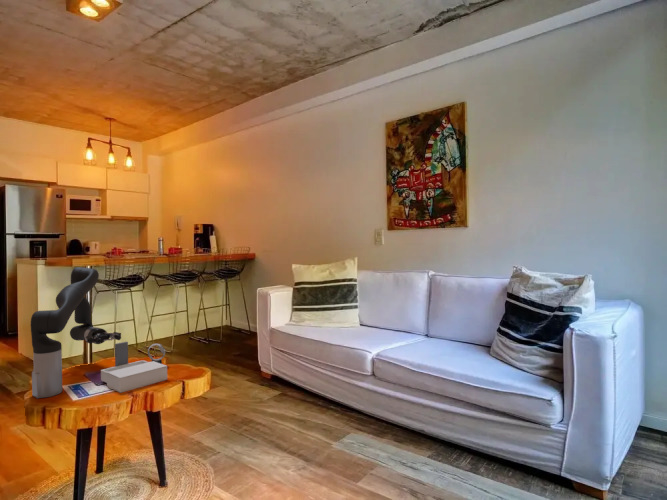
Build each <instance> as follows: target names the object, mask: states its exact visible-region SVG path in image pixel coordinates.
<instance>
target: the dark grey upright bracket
mask: <svg viewBox="0 0 667 500" xmlns="http://www.w3.org/2000/svg"><path fill="white" fill-rule="evenodd" d="M114 355H115V356H114V362H115V364H114V366H111V367H108V368H104V369H100V381H102V382H104V383H106V384H107V372H110V371H114V370H118V369H122V368H127V367H131V366H135V365H139V364H143V363H148V362H149V361H147V360H144V359H143V360H138V361H137V360H136V361H135V362H134V361H133V362H129V342H128V341H123V342H117V343H114Z"/></svg>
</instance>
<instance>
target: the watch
mask: <svg viewBox="0 0 667 500" xmlns="http://www.w3.org/2000/svg"><path fill="white" fill-rule="evenodd" d="M155 346H157V348H158V350H159V351H160V352H161V353H162V356H161V357H159V358H153V356H152V355H151V353H150V349H151V348H152V347H155ZM166 352H167V351H166V349H165V348H164V347H163V344H162V343H153V344H151V345H150V346H149V347H148V348H147V355H148V357H149V359H150V360H151V362H152V361H154V362H157V363H160V364H163V361H162V359H163V358H164V357H165V355H166Z"/></svg>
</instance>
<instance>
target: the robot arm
mask: <svg viewBox="0 0 667 500" xmlns="http://www.w3.org/2000/svg"><path fill="white" fill-rule="evenodd" d="M99 276H100V275H99V271H98V270H97V269H95V268H89V267H80V266H77V267H74V268H73V269H72V271H71V274H70V284H67V285H66V286H64V287H63V288H62V289H61V290H60V291H59V292H58V294H57V295H56V298H55V303H56V306H57V308H58V309H55V310H53V309H52V310H51V309H50V310H37V311H34V312H32V313H33V314H32V315H31V318H30V333H31V334H30V335H31V336H30V337H31V346H32V350H33V351H32V352H33V353H32V354H33V355H32V357H33V358H32V359H33V370H32V371H31V381H32V382H31V387H32V389H31V391H32V392H31V393H32V396H33V397H34V398H36V399H42V398H50V397H54V396H57V395H59V394H61V393H62V392H63V362H62V361H63V359H62V357H63V353H62V352H63V351H62V350H63V349H62V348H63V347H62V342H61V341H59V340H56V339H53V338H50V337H49V336H48V335H50V334H52V335H53V334H59V333H61V332H62V331H63V330H64V329H65V327H66V326H67V323H68V322H69V320H70V318H71V316H72V314H73V313H74V321H75V323H76V324H79V325H75V326H73V327H71V328H70V331H69V336H70V338H71V339H72V340H74V341H79V342H80V341H85V342H86V343H87V344H90V345H91V344H95V345H101V344H103V343H105V342H107V341H113V340H117V341H120V340H121V339H122V332H119V331H118V332H117V331H113V332H108V331H107V330H106V329H104V328H101V327H98V326H97V327H96V326H94V325H93V323H92V317H91V316H92V315H91V314H92V312H91V311H92V309H91V308H92V307H91V305H90V302H89V301H88V299H87V297H86V295H87V294H88V293H89V292H90V291H91V290H92V289H93V288H95V286H96V284H97V282H98V280H99V278H100V277H99Z"/></svg>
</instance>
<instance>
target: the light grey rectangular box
mask: <svg viewBox="0 0 667 500" xmlns="http://www.w3.org/2000/svg"><path fill="white" fill-rule="evenodd" d="M147 362H148V363H143V364H139V365H135V366H131V367H127V368H122V369H118V370H114V371H110V372H107V383H106V384H107V385H106V387H107V388H109V389H112V390H114V391H116V392H118V393H124V392H128V391H132V390H135V389H139V388H143V387H147V386H149V385H153V384H156V383H159V382H165V381H166V380H168V365H166V364H163V363H162V364H160V363H157V362H154V361H152V360H151V361H147Z"/></svg>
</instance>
